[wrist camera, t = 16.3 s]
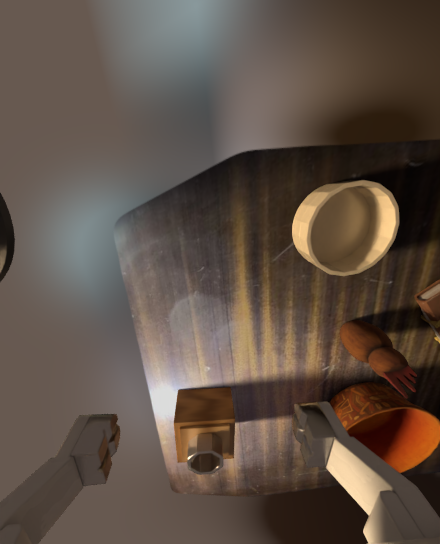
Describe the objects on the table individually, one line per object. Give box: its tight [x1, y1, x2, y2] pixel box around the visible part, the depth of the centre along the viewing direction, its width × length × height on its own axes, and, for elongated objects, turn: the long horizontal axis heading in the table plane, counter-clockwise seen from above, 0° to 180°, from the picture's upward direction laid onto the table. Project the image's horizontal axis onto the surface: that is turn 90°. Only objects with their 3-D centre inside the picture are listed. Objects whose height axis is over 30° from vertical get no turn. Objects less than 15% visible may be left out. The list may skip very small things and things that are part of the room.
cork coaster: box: [180, 424, 230, 462], centre depth 41 cm, size 9×9×1 cm
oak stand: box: [174, 387, 235, 463], centre depth 45 cm, size 11×11×7 cm
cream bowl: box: [292, 180, 399, 276], centre depth 34 cm, size 13×13×6 cm
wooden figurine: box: [340, 320, 417, 398], centre depth 36 cm, size 7×6×15 cm
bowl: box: [329, 382, 440, 473], centre depth 46 cm, size 21×21×10 cm
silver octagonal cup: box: [187, 433, 223, 475], centre depth 40 cm, size 6×6×3 cm
